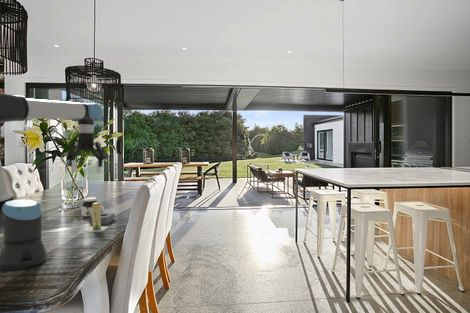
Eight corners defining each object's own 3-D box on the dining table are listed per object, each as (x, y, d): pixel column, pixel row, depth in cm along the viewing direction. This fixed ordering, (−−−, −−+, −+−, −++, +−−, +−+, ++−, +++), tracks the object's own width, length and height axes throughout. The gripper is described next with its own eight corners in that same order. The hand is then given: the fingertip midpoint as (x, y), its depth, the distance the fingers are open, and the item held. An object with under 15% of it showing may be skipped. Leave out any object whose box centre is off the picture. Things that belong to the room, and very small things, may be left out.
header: (107, 224, 161) (107, 217, 160) (89, 224, 161) (89, 217, 160) (114, 219, 171) (114, 213, 170) (98, 219, 171) (98, 213, 170)
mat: (101, 232, 146) (101, 231, 146) (84, 231, 146) (84, 231, 146) (109, 227, 155) (109, 226, 155) (92, 226, 155) (92, 226, 155)
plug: (98, 230, 149) (98, 203, 148) (91, 229, 149) (90, 203, 148) (102, 227, 153) (102, 202, 152) (94, 227, 153) (94, 202, 152)
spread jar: (79, 217, 175) (79, 198, 175) (92, 213, 186) (92, 195, 186) (95, 218, 173) (95, 200, 172) (108, 214, 184) (108, 196, 183)
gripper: (112, 133, 153) (112, 172, 153) (67, 133, 154) (67, 171, 154) (105, 132, 145) (105, 173, 146) (58, 132, 146) (58, 172, 147)
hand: (86, 172), depth 150 cm, fingers open, 13 cm apart
